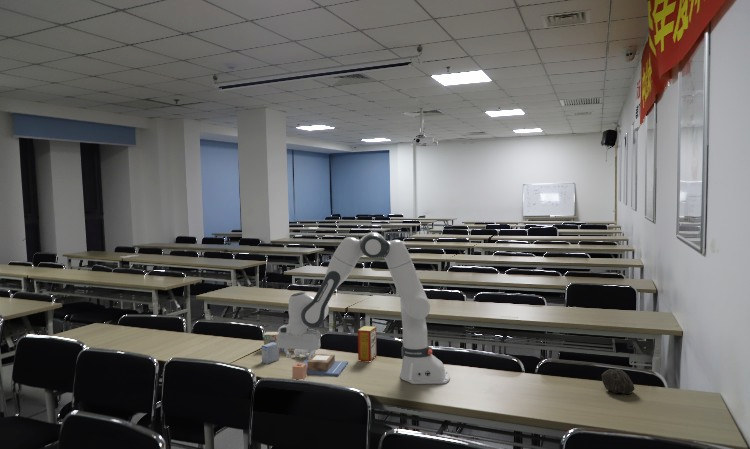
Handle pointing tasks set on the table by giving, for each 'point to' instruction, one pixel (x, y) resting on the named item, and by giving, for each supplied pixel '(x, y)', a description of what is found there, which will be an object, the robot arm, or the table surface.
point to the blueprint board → (337, 372)
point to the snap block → (299, 371)
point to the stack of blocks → (272, 339)
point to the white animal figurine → (303, 352)
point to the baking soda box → (367, 343)
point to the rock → (617, 381)
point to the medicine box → (270, 353)
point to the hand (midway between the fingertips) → (298, 358)
